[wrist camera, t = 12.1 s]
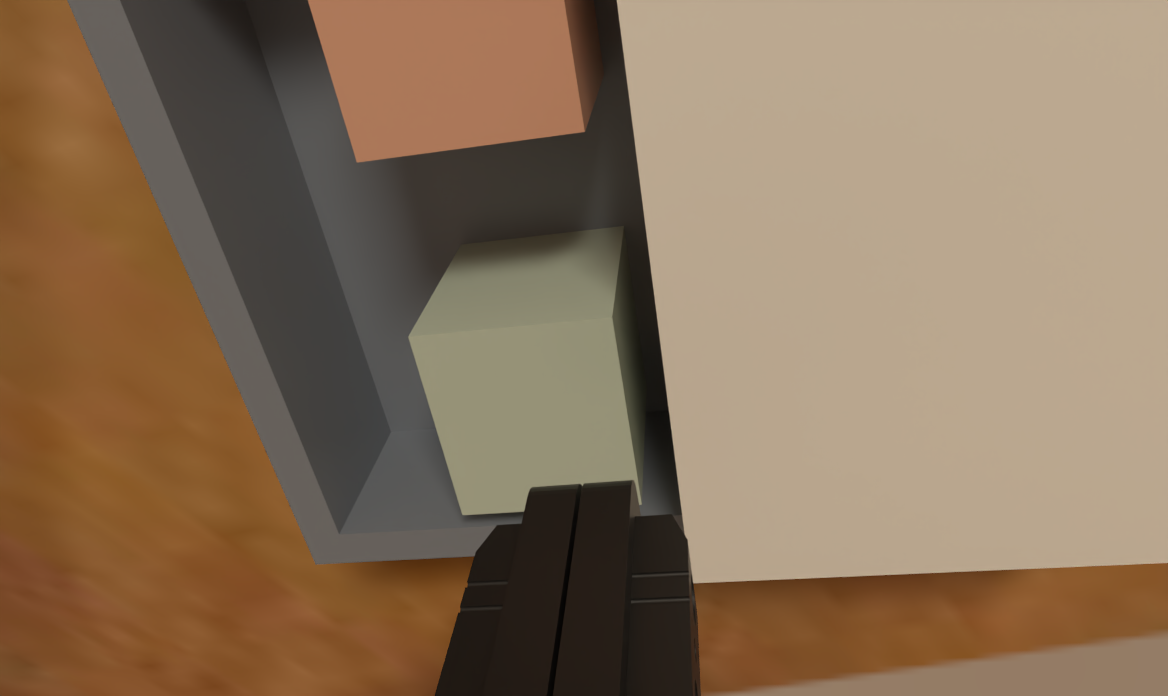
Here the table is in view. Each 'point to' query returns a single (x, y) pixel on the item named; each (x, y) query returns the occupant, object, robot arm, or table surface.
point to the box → (351, 253)
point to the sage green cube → (534, 367)
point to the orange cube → (459, 71)
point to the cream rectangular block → (908, 279)
